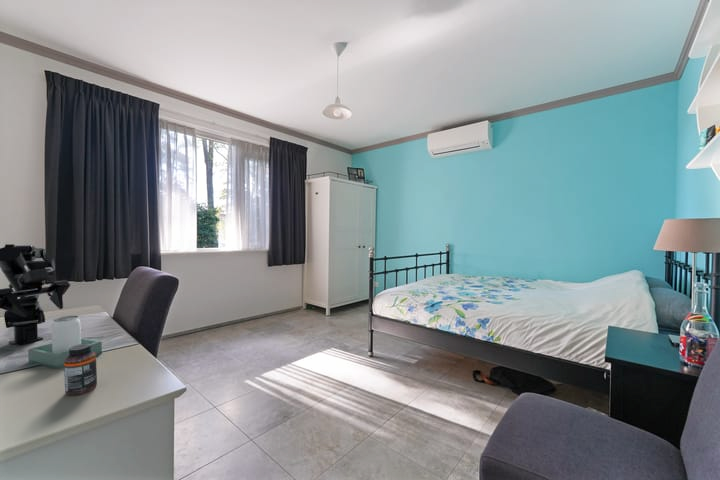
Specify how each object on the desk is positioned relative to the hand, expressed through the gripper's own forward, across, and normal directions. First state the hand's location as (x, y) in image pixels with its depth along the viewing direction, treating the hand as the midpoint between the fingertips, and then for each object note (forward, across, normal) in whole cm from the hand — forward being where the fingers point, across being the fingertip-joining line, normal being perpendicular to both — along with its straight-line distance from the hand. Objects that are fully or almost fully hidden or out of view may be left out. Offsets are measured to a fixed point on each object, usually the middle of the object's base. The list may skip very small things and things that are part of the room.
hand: (44, 312), depth 97 cm
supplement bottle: (+36, -13, -16) cm, 42 cm away
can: (+17, -1, +1) cm, 17 cm away
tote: (+17, -1, +2) cm, 17 cm away
